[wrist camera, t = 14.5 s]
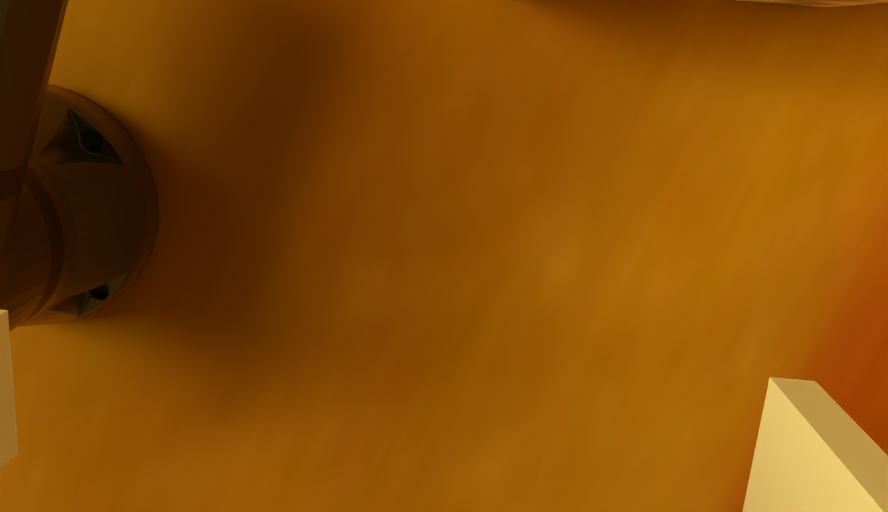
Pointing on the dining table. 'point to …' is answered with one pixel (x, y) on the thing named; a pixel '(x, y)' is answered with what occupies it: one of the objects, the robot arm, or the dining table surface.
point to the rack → (821, 2)
